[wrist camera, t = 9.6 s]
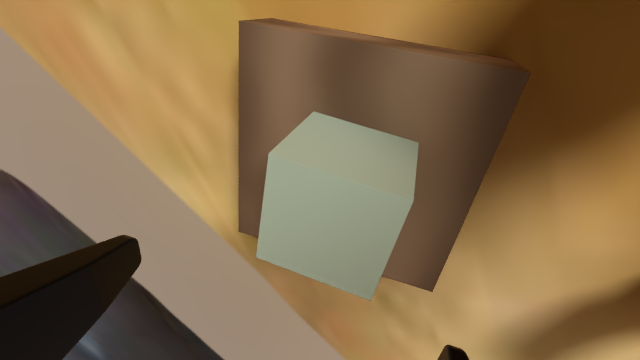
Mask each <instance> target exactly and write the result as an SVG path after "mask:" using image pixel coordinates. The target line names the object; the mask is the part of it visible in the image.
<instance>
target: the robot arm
mask: <svg viewBox="0 0 640 360" xmlns="http://www.w3.org/2000/svg"><path fill="white" fill-rule="evenodd" d="M140 263H141V254H140V248H139V244H138V241H137V239H136V238H133V237H130V236H127V235H121V236H118V237H115V238H112V239H109V240H106V241H103V242H100V243H97V244H94V245H92V246H89V247H86V248H83V249H80V250H77V251H74V252H71V253H68V254H66V255H63V256H60V257H57V258H54V259H51V260H48V261H45V262H43V263H40V264H37V265H34V266H31V267H28V268H25V269H22V270H19V271H17V272H14V273H11V274H8V275H5V276H2V277H0V360H62V359H63V358H64V357H65V356H66V355H67V354H68V353H69V352H70V350H71V349H72V348H73V347H74V346H75V345H76V344H77V343H78V341H79V340H80V339H81V338H82V337H83V336H84V335H85V334H86V332H87V331H88V330H89V329H90V328H91V327H92V326H93V325H94V323H95V322H96V321H97V320H98V319H99V318H100V317H101V315H102V314H103V313H104V312H105V311H106V310H107V308H108V307H109V306H110V304H111V303H112V302H113V300H114V299H115V298H116V296H117V295H118V294H119V292H120V291H121V290H122V288H123V287H124V286H125V284H126V283H127V282H128V280H129V279H130V278H131V276H132V275H133V274H134V272H135V271H136V270H137V268H138V267H139V265H140ZM438 360H469V358H468V356H467V354H466V353H465V351H464V350H462V349H460V348H457V347H454V346H451V345H446V346H445V347H444V349H443V351H442V352H441V354H440V356H439V358H438Z"/></svg>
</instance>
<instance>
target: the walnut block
mask: <svg viewBox="0 0 640 360" xmlns="http://www.w3.org/2000/svg"><path fill="white" fill-rule="evenodd" d="M529 76H530V72H528V71H527V70H525V69H524V68H522V67H521V66H519V65H518V64H516V63H515V62H513V61H512V60H510V59H504V58H498V57H492V56H487V55H481V54H475V53H469V52H464V51H458V50H452V49H446V48H441V47H435V46H429V45H423V44H417V43H412V42H406V41H400V40H394V39H389V38H383V37H377V36H371V35H366V34H360V33H354V32H348V31H342V30H337V29H331V28H325V27H319V26H314V25H308V24H302V23H296V22H291V21H285V20H279V19H273V18H268V19H256V20H244V21H239V232H242V233H245V234H248V235H251V236H255V237H259V229H260V220H261V212H262V204H263V196H264V187H265V179H266V171H267V163H268V154H269V153H270V152H271V151H272V150H273V149H274V148H275V147H276V146H277V145H278V144H279V143H280V142H281V141H282V140H284V139H285V138H286V137H287V136H288V135H289V134H290V133H291V132H292V131H293V130H294V129H295V128H296V127H297V126H299V125H300V124H301V123H302V122H303V121H304V120H305V119H306V118H307V117H308V116H309V115H310V114H311V113H312V112H317V113H321V114H324V115H328V116H331V117H334V118H338V119H341V120H344V121H348V122H351V123H355V124H358V125H361V126H365V127H368V128H371V129H375V130H378V131H381V132H385V133H388V134H392V135H395V136H398V137H402V138H405V139H408V140H412V141H415V142H418V143H419V146H418V157H417V168H416V179H415V190H414V201H413V203H412V205H411V208H410V210H409V212H408V215H407V217H406V219H405V222H404V224H403V226H402V229H401V231H400V233H399V236H398V238H397V240H396V243H395V245H394V247H393V250H392V252H391V255H390V257H389V259H388V262H387V264H386V266H385V269H384V271H383V273H382V276H383V277H386V278H389V279H393V280H396V281H399V282H402V283H405V284H409V285H412V286H415V287H418V288H422V289H425V290H428V291H431V292H433V289H434V287H435V285H436V283H437V280H438V278H439V276H440V274H441V271H442V269H443V267H444V265H445V263H446V260H447V258H448V256H449V254H450V251H451V249H452V247H453V245H454V243H455V240H456V238H457V236H458V234H459V231H460V229H461V227H462V225H463V223H464V220H465V218H466V216H467V214H468V211H469V209H470V207H471V205H472V202H473V200H474V198H475V196H476V194H477V191H478V189H479V187H480V185H481V182H482V180H483V178H484V176H485V174H486V171H487V169H488V167H489V165H490V162H491V160H492V158H493V156H494V153H495V151H496V149H497V147H498V145H499V142H500V140H501V138H502V136H503V133H504V131H505V129H506V127H507V125H508V122H509V120H510V118H511V116H512V113H513V111H514V109H515V107H516V105H517V102H518V100H519V98H520V96H521V93H522V91H523V89H524V87H525V84H526V82H527V80H528V78H529Z"/></svg>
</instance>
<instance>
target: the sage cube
mask: <svg viewBox="0 0 640 360" xmlns="http://www.w3.org/2000/svg"><path fill="white" fill-rule="evenodd" d="M418 146H419V143H418V142H415V141H412V140H408V139H405V138H402V137H398V136H395V135H392V134H388V133H385V132H381V131H378V130H375V129H371V128H368V127H365V126H361V125H358V124H355V123H351V122H348V121H344V120H341V119H338V118H334V117H331V116H328V115H324V114H321V113H317V112H312V113H311V114H310V115H309V116H308V117H307V118H306V119H305V120H304V121H303V122H302V123H301V124H300V125H299V126H297V127H296V128H295V129H294V130H293V131H292V132H291V133H290V134H289V135H288V136H287V137H286V138H285V139H284V140H282V141H281V142H280V143H279V144H278V145H277V146H276V147H275V148H274V149H273V150H272V151H271V152H270V153H269V154H268V163H267V171H266V179H265V187H264V196H263V204H262V212H261V220H260V229H259V237H258V245H257V253H256V258H259V259H262V260H264V261H267V262H269V263H272V264H275V265H277V266H280V267H283V268H285V269H288V270H290V271H293V272H296V273H298V274H301V275H303V276H306V277H309V278H311V279H314V280H317V281H319V282H322V283H324V284H327V285H330V286H332V287H335V288H338V289H340V290H343V291H345V292H348V293H351V294H353V295H356V296H358V297H361V298H364V299H366V300H369V301H371V299H372V297H373V294H374V292H375V290H376V287H377V285H378V283H379V280H380V278H381V276H382V273H383V271H384V269H385V266H386V264H387V262H388V259H389V257H390V255H391V252H392V250H393V247H394V245H395V243H396V240H397V238H398V236H399V233H400V231H401V229H402V226H403V224H404V222H405V219H406V217H407V215H408V212H409V210H410V208H411V205H412V203H413V201H414V190H415V179H416V168H417V157H418Z"/></svg>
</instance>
